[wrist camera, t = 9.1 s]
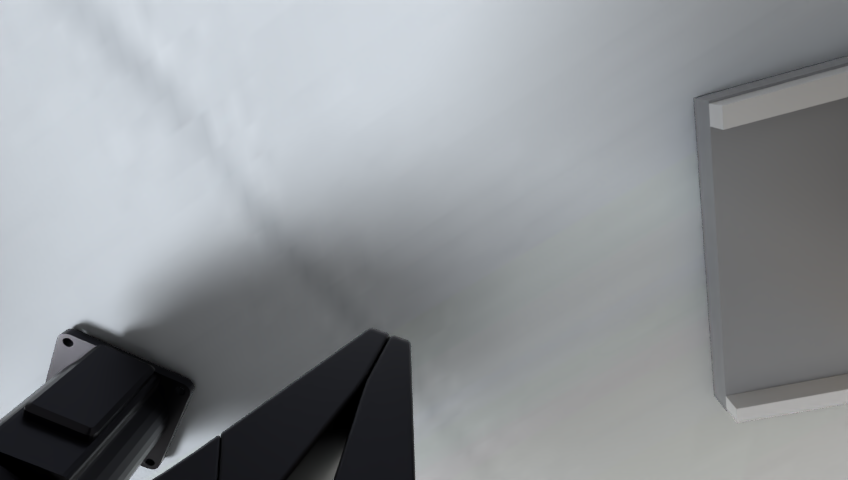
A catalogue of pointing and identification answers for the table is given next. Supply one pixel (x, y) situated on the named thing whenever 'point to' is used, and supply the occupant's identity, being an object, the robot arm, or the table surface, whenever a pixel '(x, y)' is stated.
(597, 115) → the table surface
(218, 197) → the table surface
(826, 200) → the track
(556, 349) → the table surface
